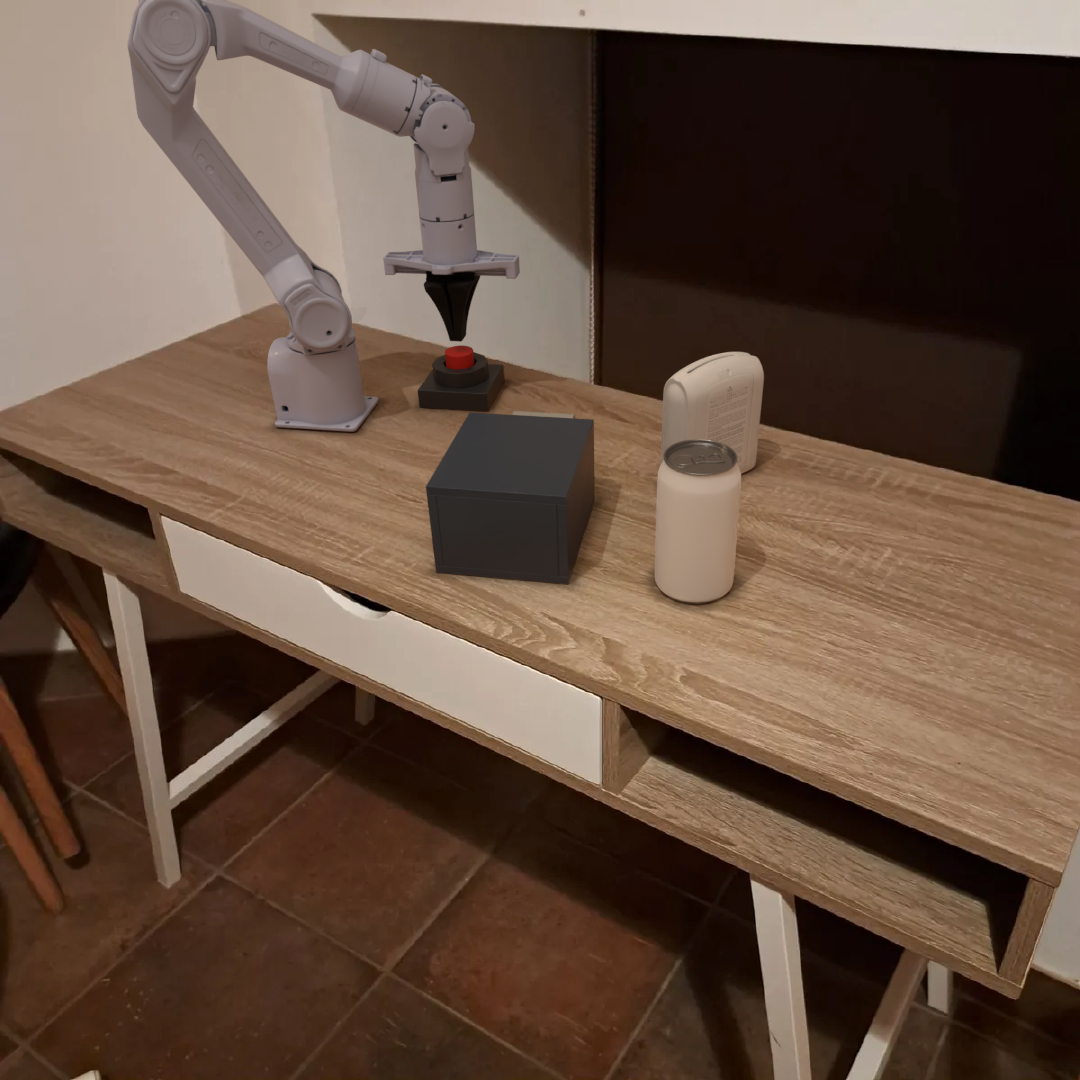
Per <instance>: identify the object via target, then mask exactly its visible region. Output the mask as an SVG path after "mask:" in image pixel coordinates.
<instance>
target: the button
mask: <svg viewBox="0 0 1080 1080" xmlns="http://www.w3.org/2000/svg"><path fill="white" fill-rule="evenodd" d="M473 352H474V348H473V347H472V346H469V345H463V344H462V345H454V346H450V347H448V348H446V349H445V350H444V355H445V359H446V367H447V368H450V369H465V368H469V367H472V366H474V353H473Z"/></svg>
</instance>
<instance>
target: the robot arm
mask: <svg viewBox="0 0 1080 1080" xmlns="http://www.w3.org/2000/svg"><path fill="white" fill-rule="evenodd" d="M211 47H214V52H215V57H216V61H223V60H225V61H226V60H229V59H236V58H240V57H252V58H254V59H257V60H258V61H259V60H260V61H261V62H264V63H266V64H269V65H270V66H273V67H276V68H278V69H280V70H283V71H285V72H287V73H290V74H292V75H295V76H297V77H299V78H301V79H304V80H307V81H309V82H311V83H314V84H316V85H318V86H321V87H323V88H325V89H328V90H330V91H331V94H332V96H333V99H334V101H335V103H336V106H337V108H338V109H339V111H341V112H344V113H346V114H348V115H350V116H352V117H355V118H357V119H359V120H361V121H363V122H366V123H368V124H370V125H372V126H375V127H376V128H379V129H382V130H383V131H385V132H387V133H389V134H392V135H395V136H397V137H399V138H401V137H409V138H410V139H411V140H412V141H413V142H415V143H413V153H414V163H415V168H414V178H415V188H416V198H417V206H418V217H419V227H420V235H421V245H422V249H417V250H409V251H388V252H387V253H386V255H384V256H383V258H382V259H383V267H384V274H385V276H395V275H396V274H411V275H412V274H415V275H425V281H424V283H423V288H424V291H425V292H426V294H427V295H428V296H429V298H430V299H431V301H432V303H433V304H434V306H435V308H436V309H437V311H438V313H439V315H440V317H441V319H442V322H443V324H444V327H445V329H446V332H447V336H448V340H449V341H450V342H463V340H464V339H465V338H466V336H467V327H468V326H467V325H468V319H469V313H470V309H471V304H472V301H473V297H474V295H475V292H476V289H477V287H478V283H479V281H480V278H481V276H482V277H483V276H485V277H505V278H506V279H512V280H516V279H517V277H518V276H519V274H520V273H521V271H520V270H521V269H520V255H519V254H506V253H499V252H492V251H487V250H481V249H478V245H477V244H478V243H477V233H476V232H477V230H476V219H475V206H474V205H475V204H474V192H473V191H474V189H473V178H472V168H471V165H470V150H469V146H470V145H471V143H472V141H473V138H474V135H475V127H476V126H475V125H476V124H475V123H474V122H472V117H471V114H470V111H469V109H468V108H467V107H466V105H465V103H464V102H462V101H461V100H460V99H459V98H457V96H455V95H454V94H452V93H451V92H450V91H449V90H447V89H445V88H443V86H442V85H440V83H439V84H438V83H433V79H432V78H431V77H429V76H427V75H425V74H423V73H422V74H421V75H420V76H415V75H414V74H411V73H409V71H408V72H407V71H406V70H403V69H401V68H399V67H397V66H395V65H393V64H391V63H389V62H388V61H387V59H388V56H387V55H386V54H385V53H383V52H382V51H379V50H378V49H376V48H372V49H371V52H370V53H369V52H366V51H365V50H363V49H358V50H357V49H356V50H355V51H352V52H350V53H348V54H344V55H338V54H337V53H334V52H333V51H331V50H328V49H327V48H325V47H323V46H321V45H319V44H318V43H316V42H313V41H312V40H309V39H307V38H306V37H304V36H302V35H300V34H298V33H297V32H294V31H292V30H290V29H288V28H287V27H284V26H282V25H281V24H279V23H277V22H275V21H273V20H271V19H269V18H267V17H265V16H263V15H261V14H259V13H257V12H256V11H254V10H251V9H250V8H248V7H246V6H244V5H242V4H238V3H235V2H232V1H229V0H138V2H137V5H136V7H135V9H134V12H133V14H132V19H131V24H130V29H129V35H128V40H127V51H128V55H129V56H128V57H129V63H130V69H131V70H130V71H131V77H132V84H133V85H132V86H133V93H134V101H135V107H136V114H137V119H138V120H139V122H140V124H141V125H142V127H143V129H145V131H146V132H147V133H148V134H149V136H150V137H151V138H152V140H153V141H154V142H155V143H156V144H157V145H158V147H159V148H160V150H161V151H162V152H163V153H164V154H165V156H166V157H167V158H168V160H169V161H170V162H171V163H172V164H173V166H174V167H175V168H176V170H177V171H178V172H179V173H180V175H181V176H182V177H183V178H184V180H185V181H186V182H187V183H188V185H189V186H190V187H191V188H192V190H193V192H195V193H196V195H197V197H199V198H200V200H201V201H202V202H203V203H204V205H205V206H206V207H207V209H208V210H209V211H210V212H211V214H212V215H213V216H214V217H215V219H216V220H217V221H218V222H219V224H220V225H221V226H222V227H223V229H224V230H225V231H226V232H227V234H228V235H229V236H230V237H231V238H232V240H233V241H234V242H235V244H236V245H237V246H238V247H239V249H240V250H241V251H242V253H243V254H244V255H245V256H246V257H247V258H248V260H249V261H250V263H252V265H253V266H254V267H255V269H256V270H257V271H258V273H259V274H260V275H261V276H262V278H263V279H264V281H265V283H266V285H267V286H268V288H269V289H270V292H271V293H272V295H273V297H274V299H275V300H276V302H277V303H278V304H279V305H280V307H281V308H282V309H283V310H284V312H285V314H286V316H287V320H288V325H289V330H290V331H289V333H288V334H287V336H283V337H277V338H276V339H273V341H272V343H271V344H270V347H269V349H268V352H267V363H266V367H267V376H268V381H269V385H270V391H271V397H272V400H273V401H272V402H273V405H274V410H275V416H276V419H275V422H274V426H275V427H276V428H284V429H285V428H286V429H300V430H316V431H332V432H348V433H353V432H356V431H357V430H358V429H359V428H360V426H361V425H362V424H363V423H364V421H365V420H366V419H367V417H368V416H369V415H370V413H372V411H373V409H374V408H375V407H376V406H377V404H378V403H379V397H377V396H366V395H365V389H364V384H363V377H362V370H361V364H360V357H359V350H358V343H357V337H356V331H355V329H354V328H353V318H352V317H353V316H352V313H351V310H350V308H349V306H348V305H347V303H346V302H345V299H344V297H343V293H342V291H343V290H342V288H341V284H340V282H339V280H338V279H337V278H336V276H335V275H334V274H333V273H332V272H330V271H329V270H327V269H325V268H324V267H321V266H319V265H318V264H316V263H315V262H314V261H313V260H312V259H311V258H310V257H309V255H308V254H307V252H306V251H304V250H303V249H302V247H300V246H299V245H298V244H297V243H296V242H295V240H294V239H293V238H292V236H291V235H290V234H289V232H288V231H287V230H286V229H285V227H284V226H283V224H282V223H281V222H280V220H279V219H278V218H277V216H276V215H275V214H274V213H273V211H272V210H271V208H270V207H269V206H268V204H267V203H266V202H265V201H264V199H263V198H262V196H261V195H260V194H259V193H258V191H257V190H256V189H255V188H254V186H253V185H252V183H251V182H250V181H249V179H248V178H247V177H246V176H245V174H244V173H243V172H242V170H241V169H240V168H239V166H238V165H237V164H236V162H235V160H233V158H232V156H230V154H229V153H228V151H227V150H226V149H225V148H224V146H223V145H222V144H221V142H220V141H219V139H218V138H217V137H216V136H215V134H214V133H213V131H211V129H210V128H209V126H208V125H207V124H206V123H205V121H204V120H203V118H202V117H201V115H200V114H199V113H198V112H197V110H196V109H195V107H194V104H195V103H194V102H195V93H196V88H197V87H196V85H197V76H198V73H199V72H200V70H201V68H202V65H203V64H204V61H205V60H206V57H207V55H208V53H209V52H210V51H209V50H210V48H211Z"/></svg>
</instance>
